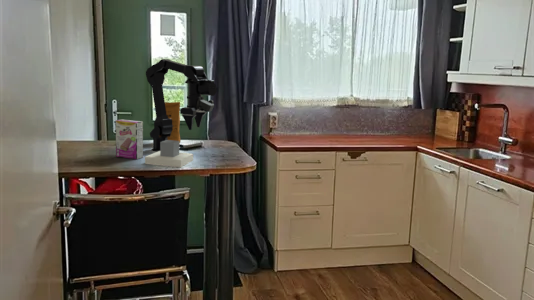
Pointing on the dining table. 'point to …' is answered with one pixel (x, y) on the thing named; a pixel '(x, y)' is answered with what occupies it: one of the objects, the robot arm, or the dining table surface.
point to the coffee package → (174, 119)
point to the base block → (169, 159)
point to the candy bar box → (129, 139)
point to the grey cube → (169, 148)
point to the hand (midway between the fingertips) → (194, 128)
